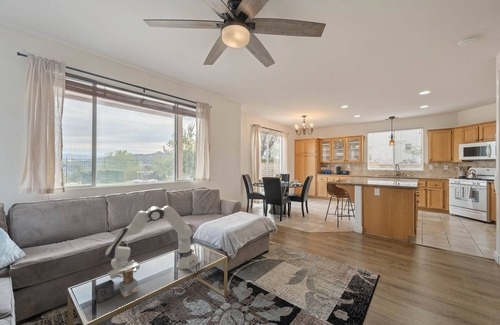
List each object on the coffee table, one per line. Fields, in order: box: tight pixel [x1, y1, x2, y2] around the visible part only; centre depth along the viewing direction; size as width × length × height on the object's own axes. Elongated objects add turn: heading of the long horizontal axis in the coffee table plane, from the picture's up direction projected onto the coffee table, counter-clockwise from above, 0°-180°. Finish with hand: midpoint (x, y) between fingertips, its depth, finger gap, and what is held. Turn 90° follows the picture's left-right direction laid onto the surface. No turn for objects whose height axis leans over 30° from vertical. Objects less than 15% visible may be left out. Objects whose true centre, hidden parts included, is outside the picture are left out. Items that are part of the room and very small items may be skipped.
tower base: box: [119, 286, 139, 298], centre depth 158 cm, size 9×9×4 cm
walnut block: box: [122, 268, 134, 285], centre depth 157 cm, size 5×5×9 cm
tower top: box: [119, 277, 138, 292], centre depth 158 cm, size 9×9×4 cm
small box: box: [94, 279, 115, 304], centre depth 150 cm, size 11×6×10 cm, turn 141°
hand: (128, 273), depth 157 cm, fingers open, 8 cm apart
